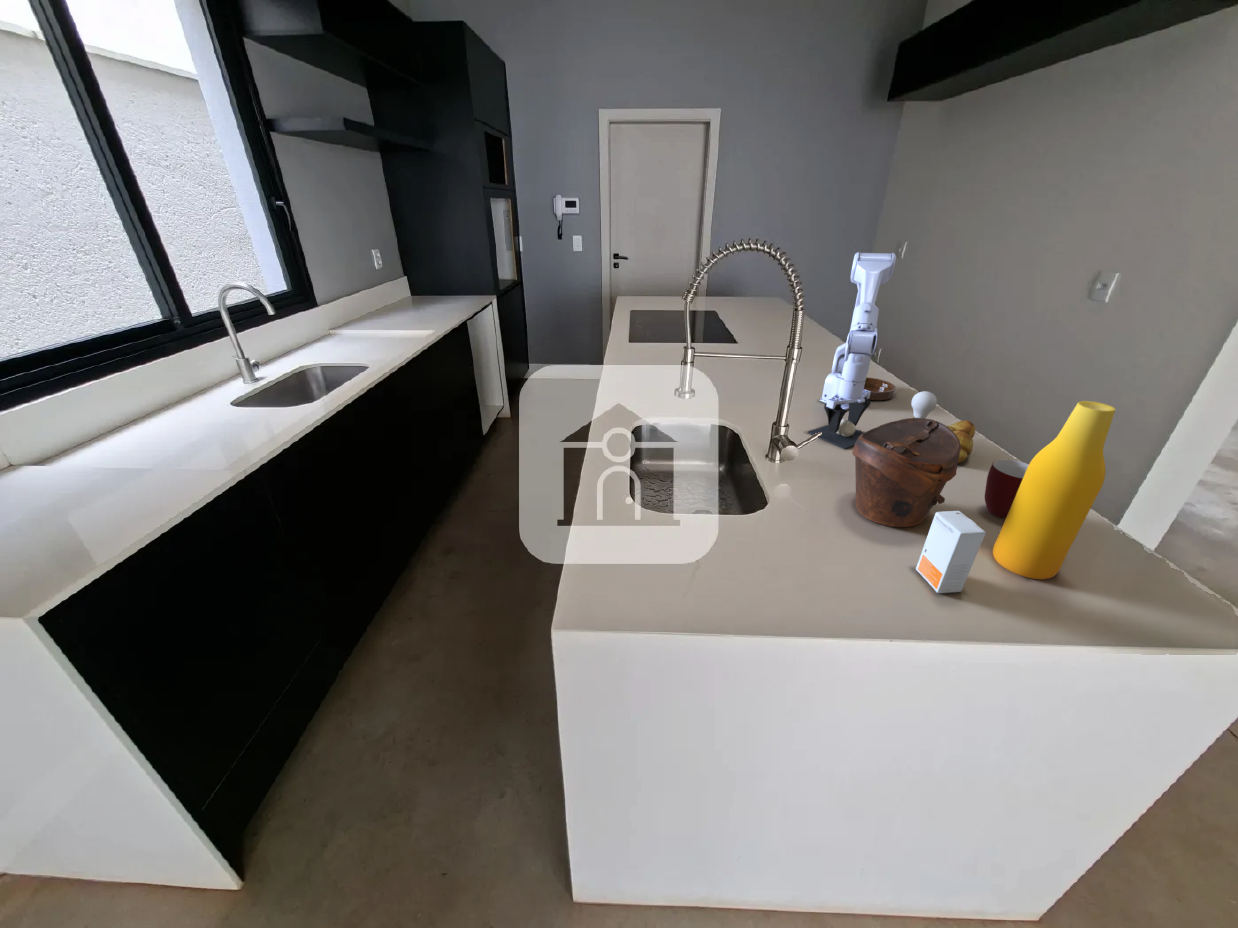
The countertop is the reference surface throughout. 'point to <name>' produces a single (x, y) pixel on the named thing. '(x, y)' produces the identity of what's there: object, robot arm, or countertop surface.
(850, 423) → the white grooved oval
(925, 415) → the light bulb
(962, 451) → the bread roll
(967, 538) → the cosmetic box
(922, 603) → the countertop surface
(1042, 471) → the beer bottle
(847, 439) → the mat
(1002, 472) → the mug
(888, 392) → the bowl
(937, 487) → the case
